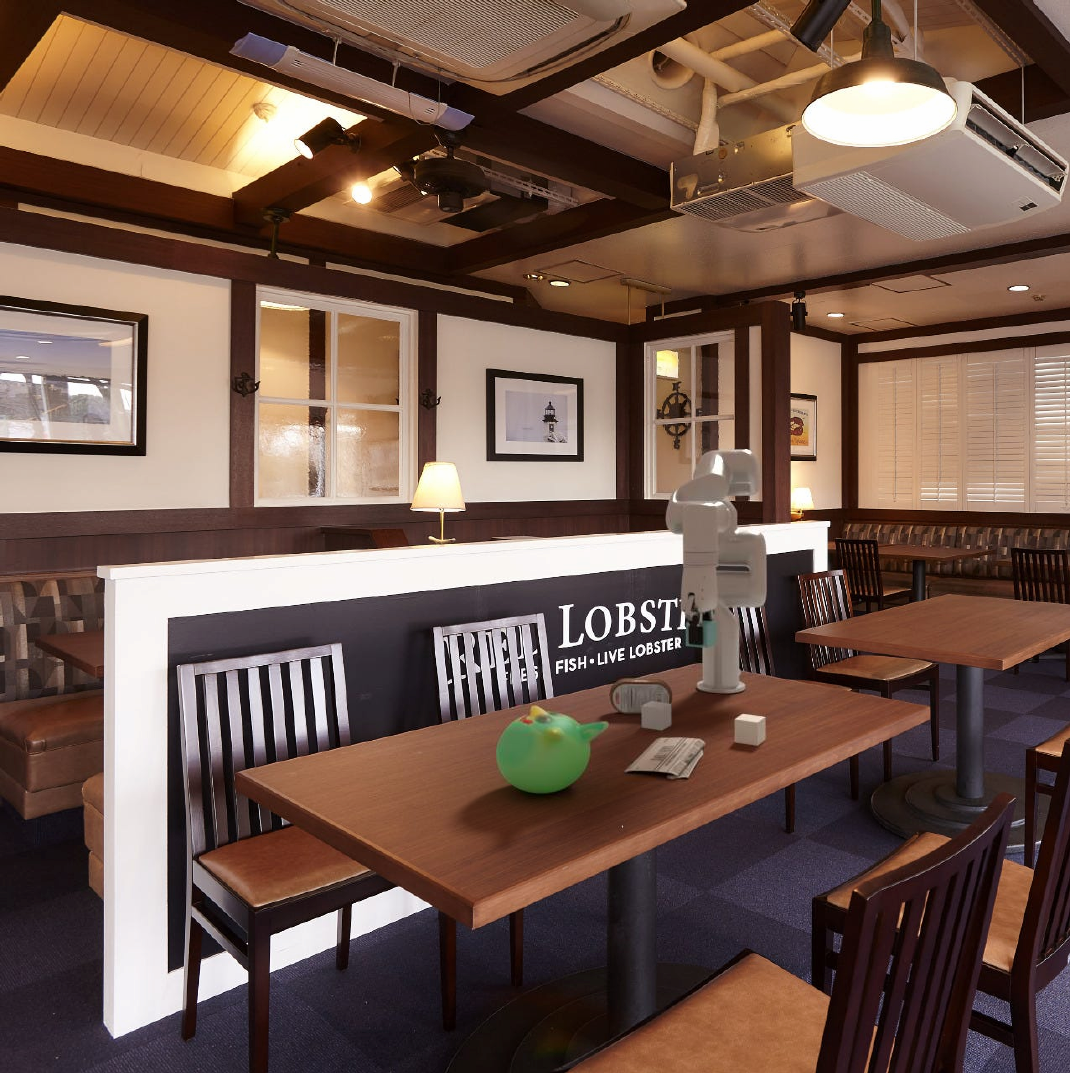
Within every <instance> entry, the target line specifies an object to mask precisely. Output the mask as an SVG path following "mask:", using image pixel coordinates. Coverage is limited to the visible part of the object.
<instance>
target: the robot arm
mask: <svg viewBox="0 0 1070 1073" xmlns="http://www.w3.org/2000/svg"><path fill="white" fill-rule="evenodd" d="M761 486H762V473H761V468H760V465H759V461H758V459H757V456H756V455H755V453H754V452H752V451H751V450H749V449H717V450H710V451H708V452H707V451H706V452H705V453H703V455H702V456H701V457H700V458H699V460H698V464H697V467H696V468H695V469H694V471H693V474H692V479H691V480H689V481H687V482H685V483H683V484H681V485H680V486H678V487H677V488H676V489H675V490H674V491H673V492H672V494H671V495H670V497H669V500H668V505H667V508H666V511H665V512H666V514H665V523H666V528H667V529H668V531H670V532H671V533H672V534H675V535H682V566H683V571H682V576H681V588H680V591H681V592H680V610H681V612H683V613H684V616H685V617H686V620H687V623H688V641H689V644H691V645H703V627H701V624H702V621H715V622H716V645H713V646H711V647H709V648H702V680H700V681H698V682H697V683H696V688H697V689H698V690H700V691H702V692H707V693H713V694H714V693H715V694H735V693H740V692H742V691H744V690H745V689H746V684H745V683H744V682H742V681H740V675H742V671H741V670H742V669H740V633H739V632H740V626H739V621H738V619H737V617H736V616H735V615H734V613H733V612H732V610H730V608H760V607H762V606H763V605H764V604H765V603H766V599H767V592H768V590H767V584H768V583H767V580H768V579H767V578H768V577H767V574H768V573H767V543H766V538H765V536H764V535H763V533H762V532H761V531H758V530H754V529H751V530H749V529H746V530H745V529H742V530H739V528H738V510H737V509H736V508H735V506H734V505H733V503H732V502H731V501H730V500H729V499H728V498H727V497H734V496H736V497H742V496H744V497H745V496H754V495H756V494H757V493H758V492H759V490H760V489H761ZM719 566H723V567H724V566H725V567H726V566H727V567H747V568H748V570H749V571H747V570H717V568H718V567H719ZM694 610H695V611H694Z"/></svg>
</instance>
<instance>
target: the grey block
mask: <svg viewBox="0 0 1070 1073" xmlns="http://www.w3.org/2000/svg"><path fill="white" fill-rule="evenodd" d="M641 709H642V714H641V728H643V729H648V730H649V729H650V730H656V731H664V730H665V729H667V728H669V727H671V726H672V703H671V704H669V703H661V702H654V701H651V702H649V703H646V704H644V705H642V706H641Z"/></svg>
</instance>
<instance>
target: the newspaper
mask: <svg viewBox="0 0 1070 1073" xmlns="http://www.w3.org/2000/svg"><path fill="white" fill-rule="evenodd" d="M705 745H706V742H705V741H703V740H702V739H701V738H693V737H692V738H691V737H659V738H656V739H655V740H654V741H653V742H652V743H651V744H650V745H649V746H648V747H647V748H646V749H645V750H644V751H643V752H642V753H641V754H640V755H639V756H638V757H637V758H636V759H635V760H634V761H633V763H632V764H630V765H629V766H628V767H626V769H625V770H624V771H623V773H626V774H627V773H628V772H660V773H668V774H667V776H666V778H667V779H670V780H676V779H680V778H689V777H690V775H691V773H692V772H693V770H694V768H695V766H697V763H698V761H699V760H700V759H701V758H702V756H703V755H704V751H703V748H704V747H705Z"/></svg>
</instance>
